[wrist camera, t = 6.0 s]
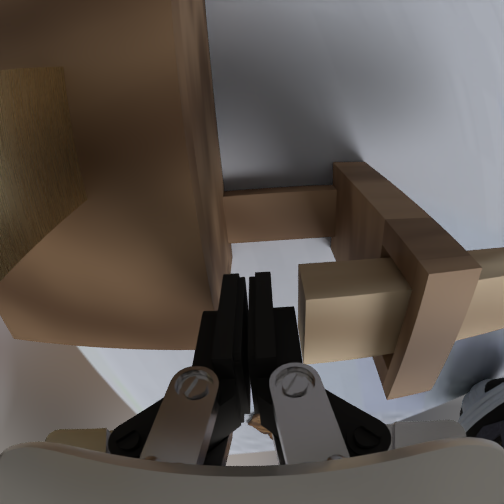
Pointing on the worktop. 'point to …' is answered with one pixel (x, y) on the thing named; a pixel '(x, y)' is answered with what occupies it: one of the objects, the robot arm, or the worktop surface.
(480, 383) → the black rounded piece
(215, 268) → the wooden box
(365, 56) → the worktop surface
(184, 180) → the lid
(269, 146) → the worktop surface
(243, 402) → the robot arm
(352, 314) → the wooden key
